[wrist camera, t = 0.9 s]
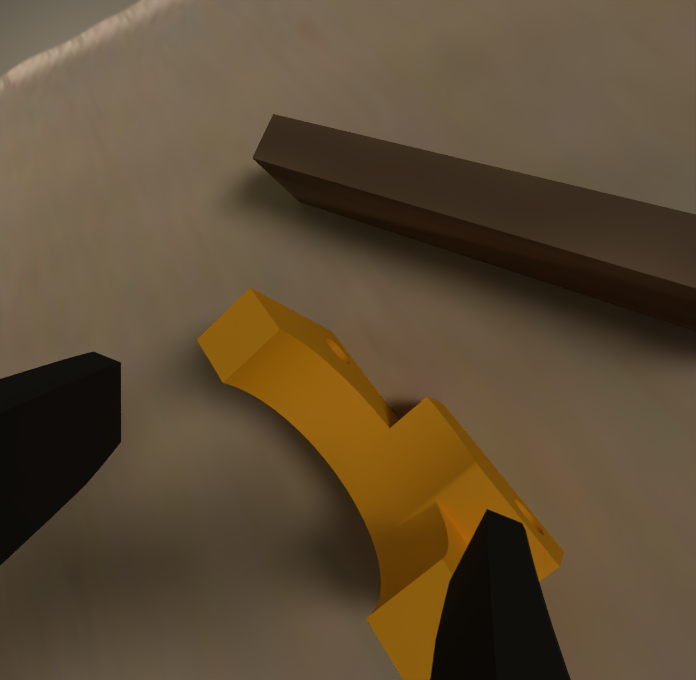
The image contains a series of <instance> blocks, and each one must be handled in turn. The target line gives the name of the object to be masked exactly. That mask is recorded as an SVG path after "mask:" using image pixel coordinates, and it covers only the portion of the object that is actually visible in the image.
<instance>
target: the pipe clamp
mask: <svg viewBox="0 0 696 680" xmlns="http://www.w3.org/2000/svg"><path fill="white" fill-rule="evenodd" d="M197 341H198V343H199V344H200V346H201V348H202V349H203V351H204V353H205V354H206V356H207V357H208V359H209V361H210V362H211V364H212V366H213V367H214V369H215V371H216V372H217V374H218V376H219V377H220V379H221V381H222V382H223V383H225V384H228V385H232V386H234V387H237V388H239V389H241V390H243V391H246V392H248V393H250V394H251V395H253V396H255V397H257V398H258V399H260V400H261V401H263V402H264V403H266V404H267V405H269V406H270V407H271V408H273V409H274V410H276V411H277V412H278V413H279V414H281V415H282V416H283V417H284V418H285V419H287V420H288V421H289V422H290V423H291V424H292V425H293V426H294V427H295V428H296V429H298V430H299V431H300V432H301V433H302V434H303V435H304V436H305V437H306V438H307V439H308V440H309V442H310V443H311V444H312V445H313V446H314V447H315V448H316V449H317V450H318V452H319V453H320V454H321V455H322V456H323V458H324V459H325V460H326V461H327V463H328V464H329V465H330V466H331V468H332V469H333V470H334V472H335V473H336V475H337V476H338V477H339V479H340V480H341V482H342V483H343V485H344V486H345V488H346V489H347V491H348V492H349V494H350V496H351V497H352V499H353V501H354V503H355V504H356V506H357V508H358V510H359V512H360V514H361V516H362V518H363V520H364V522H365V524H366V526H367V529H368V531H369V533H370V536H371V539H372V541H373V544H374V547H375V551H376V554H377V558H378V562H379V568H380V576H381V590H380V596H379V601H378V603H377V606H376V608H375V609H374V611H373V612H372V614H370V615H369V616H368V617H367V618H366V619H367V621H368V623H369V624H370V626H371V628H372V629H373V631H374V633H375V634H376V636H377V637H378V639H379V641H380V642H381V644H382V646H383V647H384V649H385V651H386V652H387V654H388V656H389V657H390V659H391V661H392V662H393V664H394V665H395V667H396V669H397V670H398V672H399V674H400V675H401V677H402V679H403V680H429V679H430V678H431V671H432V663H433V655H434V648H435V640H436V636H437V631H438V627H439V622H440V618H441V614H442V610H443V605H444V601H445V597H446V593H447V589H448V585H449V581H450V579H451V577H452V575H453V574H454V572H455V570H456V568H457V566H458V564H459V562H460V560H461V558H462V556H463V554H464V552H465V550H466V548H467V546H468V545H469V543H470V541H471V539H472V537H473V535H474V533H475V531H476V529H477V527H478V525H479V523H480V521H481V519H482V517H483V515H484V514H485V512H486V510H487V509H488V510H491V511H493V512H496V513H498V514H501V515H503V516H506V517H508V518H511V519H513V520H516V521H518V522H521V523H522V524H523V526H524V528H525V530H526V533H527V537H528V542H529V546H530V550H531V554H532V557H533V561H534V565H535V569H536V572H537V576H538V580H539V581H541V580H542V579H543V578H545V577H546V576H548V575H549V574H550V573H552V572H553V571H554V570H556V569H557V568H558V567H559V566H560V563H561V560H562V557H563V554H564V551H563V550H562V549H561V547H560V546H559V545H558V544H557V543H556V541H555V540H554V539H553V538H552V536H551V535H550V534H549V533H548V532H547V530H546V529H545V528H544V527H543V525H542V524H541V523H540V522H539V521H538V519H537V518H536V517H535V516H534V514H533V513H532V512H531V511H530V510H529V508H528V507H527V506H526V505H525V503H524V502H523V501H522V500H521V499H520V497H519V496H518V495H517V494H516V492H515V491H514V490H513V489H512V488H511V486H510V485H509V484H508V483H507V481H506V480H505V479H504V478H503V476H502V475H501V474H500V473H499V472H498V470H497V469H496V468H495V467H494V465H493V464H492V463H491V462H490V461H489V459H488V458H487V457H486V456H485V454H484V453H483V452H482V451H481V450H480V448H479V447H478V446H477V445H476V443H475V442H474V441H473V440H472V439H471V437H470V436H469V435H468V434H467V432H466V431H465V430H464V429H463V428H462V426H461V425H460V424H459V423H458V421H457V420H456V419H455V418H454V417H453V415H452V414H451V413H450V412H449V410H448V409H447V408H446V407H445V406H444V404H443V403H440V402H438V401H436V400H434V399H431V398H429V397H426V398H425V399H424V400H422V401H421V402H420V403H419V404H418V405H417V406H415V407H414V408H413V409H412V410H411V411H410V412H408V413H407V414H406V415H405V416H404V417H402V418H401V419H400V420H399V419H398V418H397V416H396V415H395V414H394V412H393V411H392V410H391V408H390V407H389V406H388V405H387V403H386V402H385V401H384V399H383V398H382V397H381V395H380V394H379V393H378V391H377V390H376V389H375V387H374V386H373V385H372V383H371V382H370V381H369V380H368V378H367V377H366V376H365V374H364V373H363V372H362V370H361V369H360V368H359V366H358V365H357V364H356V362H355V361H354V360H353V359H352V357H351V356H350V355H349V353H348V352H347V351H346V349H345V348H344V347H343V345H342V344H341V343H340V341H339V340H338V339H337V337H336V336H335V335H334V334H333V332H332V331H330V330H328V329H326V328H324V327H323V326H321V325H319V324H317V323H315V322H313V321H311V320H309V319H308V318H306V317H304V316H302V315H300V314H298V313H296V312H295V311H293V310H291V309H289V308H287V307H285V306H283V305H282V304H280V303H278V302H276V301H274V300H272V299H270V298H268V297H267V296H265V295H263V294H261V293H259V292H257V291H255V290H254V289H252V288H250V289H249V290H248V291H247V292H245V293H244V294H243V295H242V296H241V297H240V298H239V299H238V300H237V301H236V302H235V303H234V304H233V305H232V306H231V307H230V308H229V309H228V310H227V311H226V312H225V313H224V314H223V315H222V316H221V317H220V318H219V319H218V320H217V321H216V322H215V323H213V324H212V325H211V326H210V327H209V328H208V329H207V330H206V331H205V332H204V333H203V334H202V335H201V336H200V337H199V338H198V339H197Z"/></svg>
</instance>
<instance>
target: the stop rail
mask: <svg viewBox="0 0 696 680" xmlns="http://www.w3.org/2000/svg"><path fill="white" fill-rule="evenodd" d="M253 159H254V160H255V161H256V162H257V163H258V164H259V165H260V166H262V167H263V168H264V169H265V170H266V171H267V172H268V173H269V174H270V175H271V176H272V177H273V178H274V179H276V180H277V181H278V182H279V183H280V184H281V185H282V186H283V187H284V188H285V189H286V190H287V191H289V192H290V193H291V194H292V195H293V196H294V197H295V198H296V199H297V200H298V201H299V202H302V203H305V204H308V205H311V206H315V207H318V208H321V209H324V210H327V211H330V212H333V213H336V214H339V215H342V216H345V217H348V218H351V219H354V220H358V221H361V222H364V223H367V224H370V225H373V226H376V227H379V228H382V229H385V230H388V231H391V232H394V233H397V234H400V235H404V236H407V237H410V238H413V239H416V240H419V241H422V242H425V243H428V244H431V245H434V246H437V247H440V248H443V249H447V250H450V251H453V252H456V253H459V254H462V255H465V256H468V257H471V258H474V259H477V260H480V261H483V262H486V263H489V264H493V265H496V266H499V267H502V268H505V269H508V270H511V271H514V272H517V273H520V274H523V275H526V276H529V277H532V278H536V279H539V280H542V281H545V282H548V283H551V284H554V285H557V286H560V287H563V288H566V289H569V290H572V291H575V292H578V293H582V294H585V295H588V296H591V297H594V298H597V299H600V300H603V301H606V302H609V303H612V304H615V305H618V306H621V307H625V308H628V309H631V310H634V311H637V312H640V313H643V314H646V315H649V316H652V317H655V318H658V319H661V320H664V321H668V322H671V323H674V324H677V325H680V326H683V327H686V328H689V329H692V330H695V331H696V215H695V214H691V213H687V212H682V211H678V210H674V209H670V208H666V207H661V206H657V205H653V204H649V203H645V202H640V201H636V200H632V199H628V198H624V197H619V196H615V195H611V194H607V193H603V192H598V191H594V190H590V189H586V188H582V187H577V186H573V185H569V184H565V183H560V182H556V181H552V180H548V179H544V178H539V177H535V176H531V175H527V174H523V173H518V172H514V171H510V170H506V169H502V168H497V167H493V166H489V165H485V164H481V163H476V162H472V161H468V160H464V159H460V158H455V157H451V156H447V155H443V154H439V153H434V152H430V151H426V150H422V149H418V148H413V147H409V146H405V145H401V144H397V143H392V142H388V141H384V140H380V139H376V138H371V137H367V136H363V135H359V134H355V133H350V132H346V131H342V130H338V129H334V128H329V127H325V126H321V125H317V124H313V123H308V122H304V121H300V120H296V119H292V118H287V117H283V116H279V115H275V114H273V116H272V118H271V120H270V122H269V124H268V126H267V129H266V131H265V133H264V135H263V137H262V139H261V141H260V143H259V145H258V147H257V149H256V151H255V154H254V156H253Z"/></svg>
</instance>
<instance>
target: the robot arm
mask: <svg viewBox="0 0 696 680" xmlns="http://www.w3.org/2000/svg"><path fill="white" fill-rule="evenodd" d="M120 442H121V362H118V361H116V360H113V359H111V358H108V357H106V356H103V355H101V354H98V353H96V352H90V353H86V354H82V355H79V356H75V357H71V358H68V359H64V360H61V361H58V362H54V363H51V364H48V365H44V366H41V367H38V368H35V369H31V370H28V371H25V372H22V373H18V374H15V375H12V376H8V377H5V378H2V379H0V565H1V564H2V563H3V562H4V561H5V560H7V559H8V558H9V557H10V556H11V555H12V554H13V553H14V552H15V551H16V550H17V549H18V548H19V547H20V546H21V545H23V544H24V543H25V542H26V541H27V540H28V539H29V538H30V537H31V536H32V535H33V534H34V533H35V532H36V531H37V530H39V529H40V528H41V527H42V526H43V525H44V524H45V523H46V522H47V521H48V520H49V519H50V518H51V517H52V516H53V515H55V514H56V513H57V512H58V511H59V510H60V509H61V508H62V507H63V506H64V505H65V504H66V503H67V502H68V501H69V500H70V499H71V498H72V497H73V496H74V495H75V494H77V493H78V492H79V491H80V490H81V489H82V488H83V487H84V486H85V485H86V484H87V483H88V481H89V480H90V479H91V478H92V477H93V476H94V474H95V473H96V472H97V471H98V470H99V468H100V467H101V466H102V465H103V464H104V462H105V461H106V460H107V459H108V457H109V456H110V455H111V454H112V452H113V451H114V450H115V449H116V447H117V446H118V445H119V444H120ZM430 680H571V679H570V676H569V674H568V671H567V668H566V665H565V662H564V659H563V656H562V653H561V650H560V647H559V644H558V641H557V638H556V635H555V632H554V629H553V626H552V623H551V620H550V617H549V614H548V610H547V607H546V604H545V600H544V597H543V593H542V590H541V587H540V583H539V580H538V576H537V572H536V569H535V565H534V561H533V557H532V554H531V550H530V546H529V542H528V537H527V533H526V530H525V528H524V526H523V524H522V523H521V522H518V521H516V520H513V519H511V518H508V517H506V516H503V515H501V514H498V513H496V512H493V511H491V510H488V509H487V510H486V512H485V514H484V515H483V517H482V519H481V521H480V523H479V525H478V527H477V529H476V531H475V533H474V535H473V537H472V539H471V541H470V543H469V545H468V546H467V548H466V550H465V552H464V554H463V556H462V558H461V560H460V562H459V564H458V566H457V568H456V570H455V572H454V574H453V575H452V577H451V579H450V581H449V585H448V589H447V593H446V597H445V601H444V605H443V610H442V614H441V618H440V622H439V627H438V631H437V636H436V640H435V648H434V655H433V663H432V671H431V678H430Z"/></svg>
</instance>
